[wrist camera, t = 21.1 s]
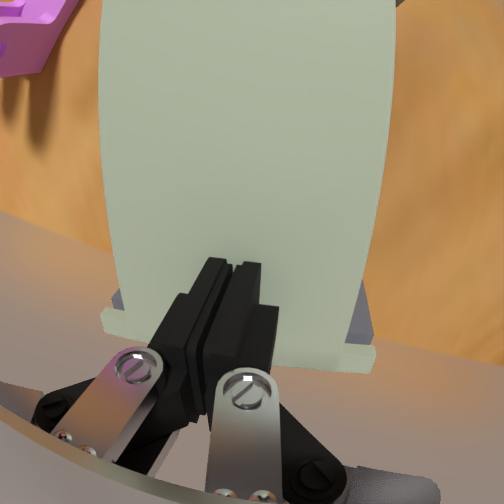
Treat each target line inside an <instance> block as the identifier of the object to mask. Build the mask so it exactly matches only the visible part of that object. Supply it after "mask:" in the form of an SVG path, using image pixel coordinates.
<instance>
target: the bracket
mask: <svg viewBox="0 0 504 504" xmlns="http://www.w3.org/2000/svg"><path fill="white" fill-rule="evenodd" d="M78 2H79V0H15V1H13V2H0V78H5V77H11V76H18V75H25V74H33V73H41V72H42V69H43V67H44V65H45V63H46V61H47V58H48V56H49V54H50V52H51V50H52V48H53V46H54V44H55V42H56V40H57V38H58V37H59V35H60V33H61V31H62V29H63V27H64V26H65V24H66V22H67V20H68V19H69V17H70V15H71V13H72V12H73V10H74V8H75V7H76V5H77V4H78Z"/></svg>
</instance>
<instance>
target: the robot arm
mask: <svg viewBox="0 0 504 504" xmlns="http://www.w3.org/2000/svg"><path fill="white" fill-rule="evenodd" d="M260 282H261V263H258V262H249V261H244V262H243V264H242V265H236V267H235V270H234V272H233V265H232V264H228V263H227V259H224V258H216V257H209V258H208V259H207V261H206V262H205V264H204V266H203V268H202V270H201V271H200V273H199V275H198V277H197V278H196V280H195V282H194V284H193V286H192V287H191V289H190V291H189V293H188V294H187V293H179V294H178V295H177V296H176V298H175V300H174V301H173V303H172V305H171V306H170V308H169V310H168V311H167V313H166V315H165V317H164V318H163V320H162V322H161V323H160V325H159V327H158V329H157V330H156V332H155V334H154V336H153V337H152V339H151V341H150V343H149V344H148V346H147V348H146V347H131V348H127V349H125V350H123V351H121V352H119V353H118V354H117V355H116V356H114V357H113V358H112V360H111V361H110V362H109V363H108V364H107V365H106V367H105V368H104V369H103V370H102V371H101V372H100V374H99V375H98V376H97V377H96V378H92V379H89V380H87V381H83V382H81V383H78V384H74V385H72V386H69V387H65V388H62V389H59V390H56V391H53V392H50V393H49V394H46V395H44V393H43V392H42V391H38V390H33V389H28V388H24V387H20V386H16V385H12V384H8V383H4V382H0V504H440V500H441V499H440V490H439V488H438V486H437V484H436V483H435V482H433V481H432V480H431V479H429V478H425V477H421V476H413V475H407V474H400V473H394V472H388V471H382V470H376V469H372V468H366V467H362V466H357V468H353V467H349V466H345V465H342V464H341V463H340V461H339V460H338V459H337V458H335V456H334V455H332V453H330V452H329V451H328V450H327V449H326V448H325V447H324V446H323V445H322V444H321V443H320V442H319V441H318V440H317V439H316V438H315V437H314V436H312V434H310V433H309V432H308V431H307V430H306V429H305V428H304V427H303V426H302V425H301V424H300V423H299V422H298V421H297V420H296V419H295V418H294V417H293V416H292V415H291V414H290V413H289V412H288V411H287V410H286V409H285V408H284V407H283V406H282V405H281V404H280V403H279V391H278V387H277V384H276V382H275V381H274V379H273V378H272V377H271V376H270V370H271V364H272V358H273V353H274V346H275V340H276V333H277V325H278V316H279V306H271V305H264V304H259V299H260ZM206 413H207V416H208V423H209V430H210V432H211V436H210V445H209V454H208V463H207V472H206V483H205V492H203V491H199V490H194V489H191V488H187V487H183V486H179V485H175V484H172V483H169V482H165V481H162V480H158V479H155V478H154V477H155V475H156V473H157V471H158V470H159V468H160V466H161V465H162V463H163V461H164V459H165V458H166V456H167V454H168V453H169V451H170V449H171V447H172V446H173V444H174V442H175V441H176V439H177V437H178V435H179V432H180V429H181V428H184V427H186V426H188V424H189V422H193V423H197V421H198V418H199V415H205V414H206Z"/></svg>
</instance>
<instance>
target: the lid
mask: <svg viewBox="0 0 504 504" xmlns="http://www.w3.org/2000/svg"><path fill="white" fill-rule="evenodd" d="M395 34H396V2H395V0H103V5H102V15H101V28H100V43H99V72H98V102H99V132H100V149H101V162H102V174H103V184H104V193H105V202H106V210H107V217H108V224H109V231H110V237H111V244H112V250H113V255H114V260H115V266H116V271H117V277H118V282H119V287H120V291H121V296H122V301H123V305H124V309H125V311H123V310H118V309H114V308H109V307H106V308H105V309H104V310H103V312H102V313H101V314H100V318H101V321H102V324H103V328H104V331H105V333H108V334H112V335H116V336H120V337H124V338H128V339H132V340H137V341H141V342H145V343H150V341H151V339H152V337H153V336H154V334H155V332H156V330H157V329H158V327H159V325H160V323H161V322H162V320H163V318H164V317H165V315H166V313H167V311H168V310H169V308H170V306H171V305H172V303H173V301H174V300H175V298H176V296H177V295H178V294H179V293H187V294H188V293H189V291H190V289H191V287H192V286H193V284H194V282H195V280H196V278H197V277H198V275H199V273H200V271H201V270H202V268H203V266H204V264H205V262H206V261H207V259H208V258H209V257H216V258H224V259H227V263H228V264H232V265H233V272H234V270H235V267H236V265H242V264H243V262H244V261H249V262H258V263H261V282H260V299H259V304H264V305H271V306H279V316H278V325H277V333H276V340H275V346H274V353H273V358H272V364H271V365H276V366H284V367H293V368H303V369H313V370H324V371H337V372H351V373H352V372H353V373H370V371H371V368H372V366H373V364H374V361H375V359H376V350H375V345H362V344H348V343H345V339H346V336H347V333H348V329H349V326H350V322H351V319H352V315H353V312H354V308H355V304H356V300H357V297H358V293H359V289H360V285H361V281H362V277H363V273H364V269H365V264H366V260H367V256H368V251H369V247H370V242H371V237H372V232H373V227H374V222H375V217H376V212H377V207H378V201H379V195H380V189H381V183H382V177H383V171H384V164H385V157H386V150H387V142H388V134H389V125H390V116H391V105H392V94H393V80H394V63H395Z"/></svg>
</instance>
